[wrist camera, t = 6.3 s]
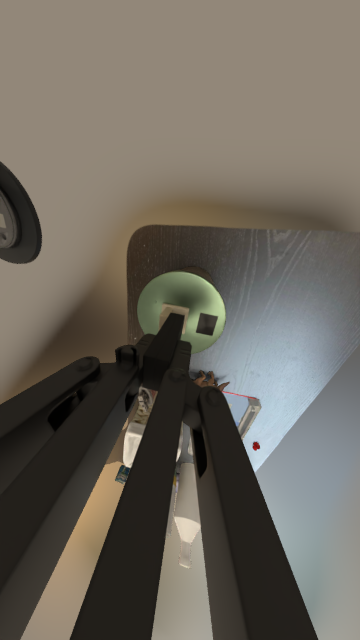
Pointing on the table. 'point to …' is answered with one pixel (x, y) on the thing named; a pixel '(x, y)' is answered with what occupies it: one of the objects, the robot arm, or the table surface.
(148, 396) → the lighter
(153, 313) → the green-lidded canister
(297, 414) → the table surface
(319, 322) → the table surface
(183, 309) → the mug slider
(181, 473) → the bottle
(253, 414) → the architectural model
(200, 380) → the dinosaur figurine
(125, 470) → the puzzle
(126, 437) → the basket
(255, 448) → the pushpin
